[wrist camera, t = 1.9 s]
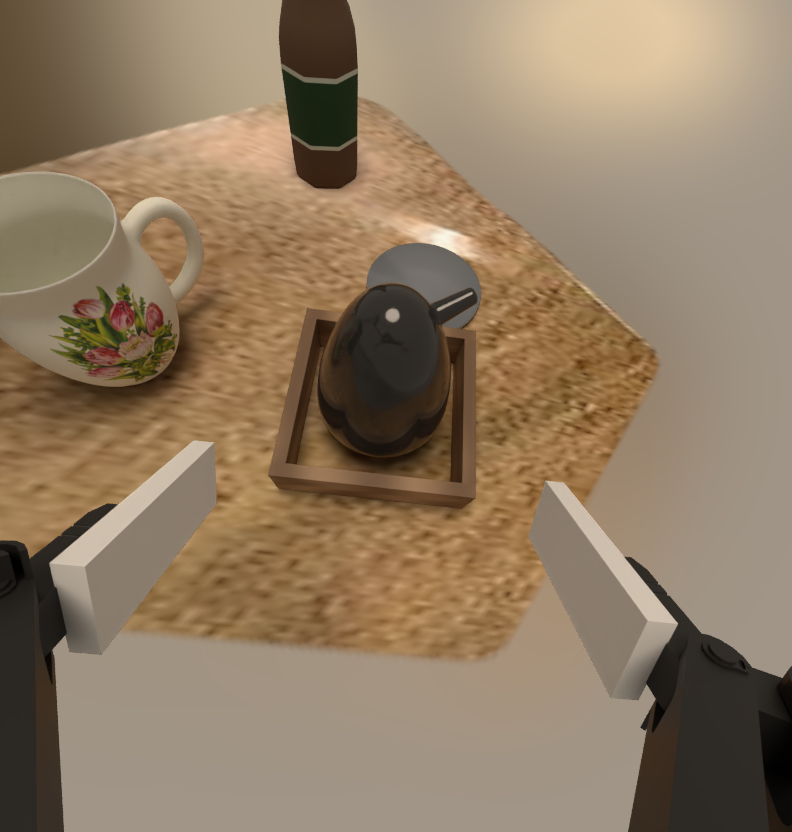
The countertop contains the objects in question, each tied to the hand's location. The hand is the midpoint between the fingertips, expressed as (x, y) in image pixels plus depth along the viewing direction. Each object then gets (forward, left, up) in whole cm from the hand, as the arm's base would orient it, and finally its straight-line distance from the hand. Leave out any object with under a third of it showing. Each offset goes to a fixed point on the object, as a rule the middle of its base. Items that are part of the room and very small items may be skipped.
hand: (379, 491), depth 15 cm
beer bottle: (-10, +43, -16) cm, 47 cm away
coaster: (+3, +26, -16) cm, 30 cm away
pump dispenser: (0, +11, -16) cm, 20 cm away
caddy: (0, +11, -16) cm, 19 cm away
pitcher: (-22, +15, -16) cm, 31 cm away
